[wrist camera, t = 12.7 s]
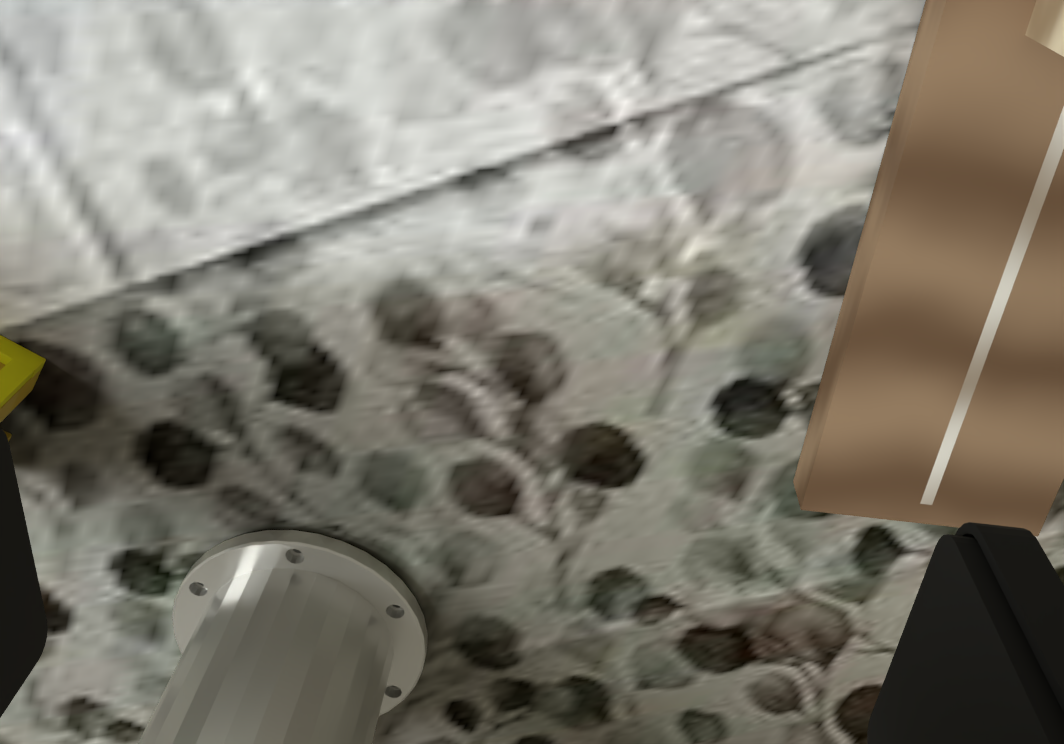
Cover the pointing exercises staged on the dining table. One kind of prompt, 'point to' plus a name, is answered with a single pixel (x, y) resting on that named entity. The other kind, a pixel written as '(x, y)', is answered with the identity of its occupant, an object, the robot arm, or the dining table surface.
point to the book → (16, 375)
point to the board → (954, 292)
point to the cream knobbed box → (1048, 24)
